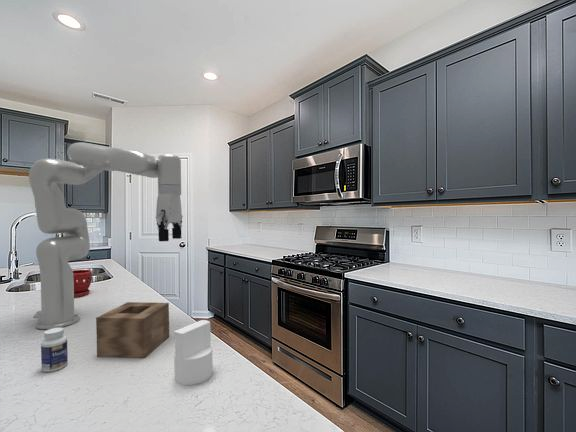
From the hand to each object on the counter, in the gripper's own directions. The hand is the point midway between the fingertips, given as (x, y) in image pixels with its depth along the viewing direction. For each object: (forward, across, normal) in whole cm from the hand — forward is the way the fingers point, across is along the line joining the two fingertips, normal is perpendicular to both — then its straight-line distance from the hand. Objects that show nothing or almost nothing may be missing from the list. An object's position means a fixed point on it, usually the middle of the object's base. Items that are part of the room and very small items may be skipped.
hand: (170, 239), depth 102 cm
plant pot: (+31, -37, -67) cm, 82 cm away
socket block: (+31, +15, -4) cm, 34 cm away
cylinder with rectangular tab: (+31, +29, +20) cm, 47 cm away
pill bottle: (+31, +27, -18) cm, 45 cm away
